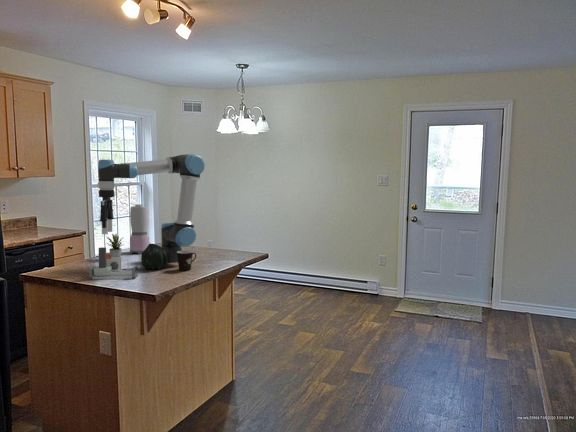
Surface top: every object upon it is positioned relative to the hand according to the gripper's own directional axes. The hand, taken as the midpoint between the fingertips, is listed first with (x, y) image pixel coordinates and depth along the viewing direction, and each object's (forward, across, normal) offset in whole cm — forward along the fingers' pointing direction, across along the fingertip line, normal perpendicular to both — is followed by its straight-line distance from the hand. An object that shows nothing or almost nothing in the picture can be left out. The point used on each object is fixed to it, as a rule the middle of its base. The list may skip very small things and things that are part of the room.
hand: (107, 232), depth 230 cm
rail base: (+21, +10, +5) cm, 24 cm away
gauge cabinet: (+21, 0, +2) cm, 21 cm away
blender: (+22, -62, +6) cm, 66 cm away
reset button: (+15, 0, 0) cm, 15 cm away
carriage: (+20, +10, 0) cm, 22 cm away
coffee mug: (+22, -7, +40) cm, 46 cm away
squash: (+22, -11, +22) cm, 33 cm away
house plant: (+22, -40, -6) cm, 46 cm away
